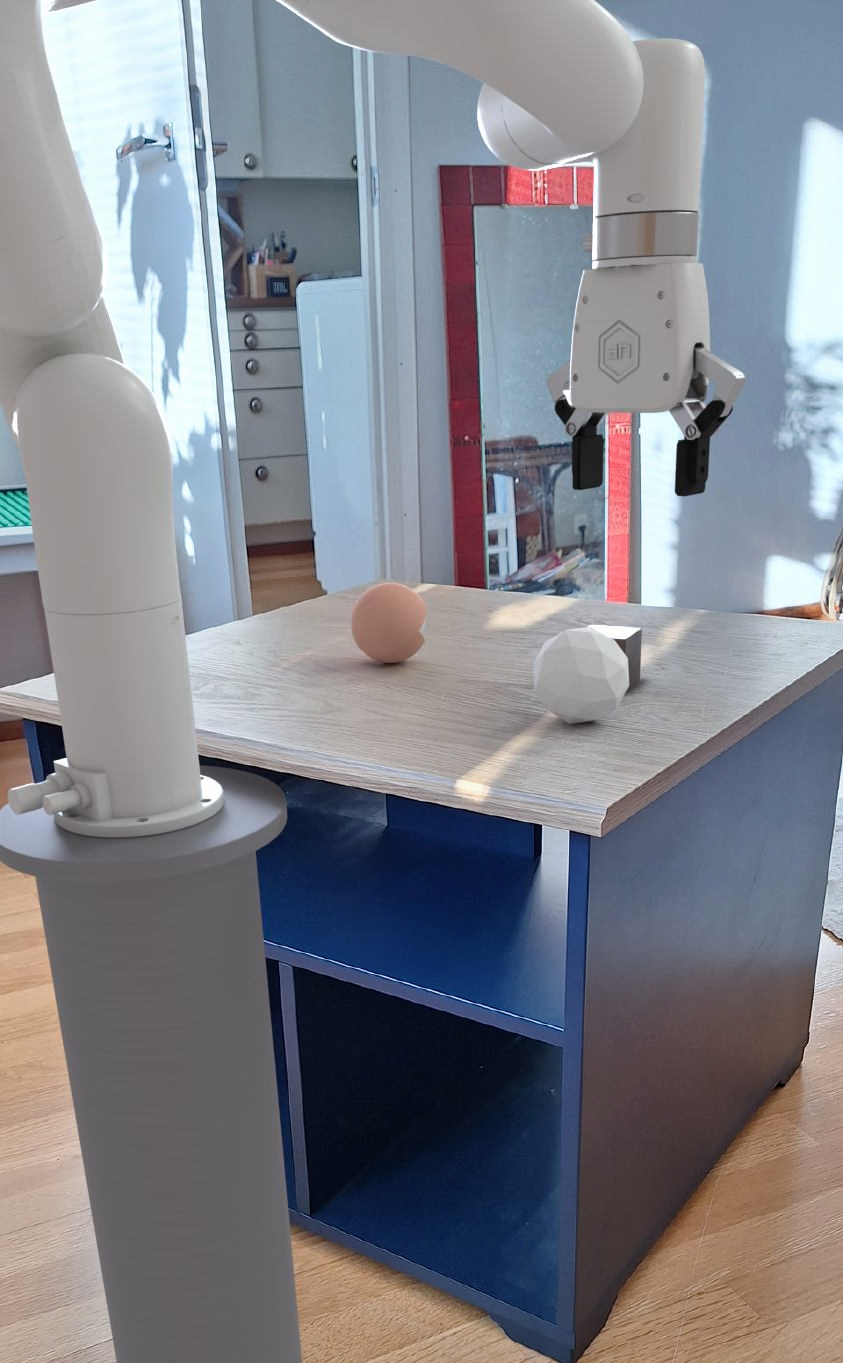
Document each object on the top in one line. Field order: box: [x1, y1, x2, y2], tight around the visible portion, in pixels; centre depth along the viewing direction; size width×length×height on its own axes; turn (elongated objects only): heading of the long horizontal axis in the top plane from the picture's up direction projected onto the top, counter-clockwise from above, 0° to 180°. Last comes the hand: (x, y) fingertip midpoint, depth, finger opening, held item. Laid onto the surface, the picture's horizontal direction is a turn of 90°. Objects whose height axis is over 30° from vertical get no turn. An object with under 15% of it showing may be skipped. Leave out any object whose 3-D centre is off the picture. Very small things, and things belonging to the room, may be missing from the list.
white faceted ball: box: [532, 626, 629, 725], centre depth 110 cm, size 8×8×12 cm
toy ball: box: [350, 582, 427, 664], centre depth 130 cm, size 8×8×8 cm
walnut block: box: [588, 624, 643, 693], centre depth 119 cm, size 5×5×5 cm
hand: (637, 491), depth 101 cm, fingers open, 9 cm apart
